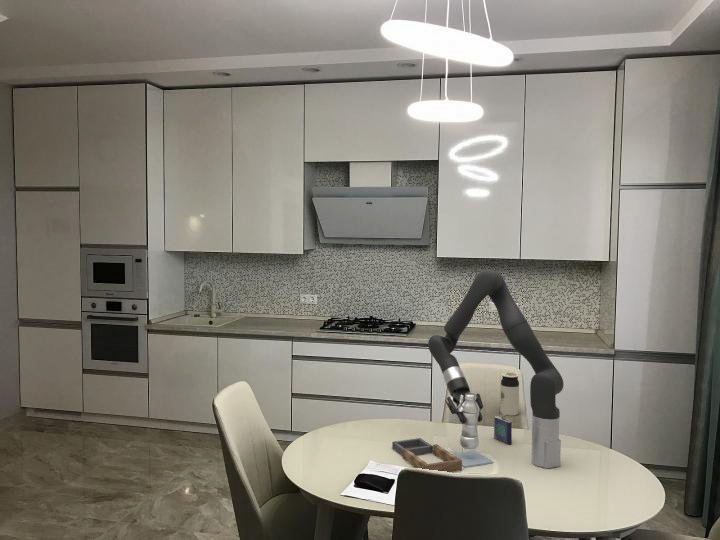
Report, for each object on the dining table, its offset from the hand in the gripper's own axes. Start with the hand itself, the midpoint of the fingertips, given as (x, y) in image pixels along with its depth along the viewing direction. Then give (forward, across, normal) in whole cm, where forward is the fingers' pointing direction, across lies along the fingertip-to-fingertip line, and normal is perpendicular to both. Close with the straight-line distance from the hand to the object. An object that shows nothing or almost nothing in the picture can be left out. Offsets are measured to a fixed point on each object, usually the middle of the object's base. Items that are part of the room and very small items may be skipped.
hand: (472, 421), depth 219 cm
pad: (+9, 0, +11) cm, 14 cm away
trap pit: (-2, -15, +23) cm, 27 cm away
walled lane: (+8, -15, +12) cm, 21 cm away
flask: (+1, +23, +20) cm, 30 cm away
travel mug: (-20, +48, +41) cm, 66 cm away
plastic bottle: (+6, 0, +9) cm, 11 cm away
